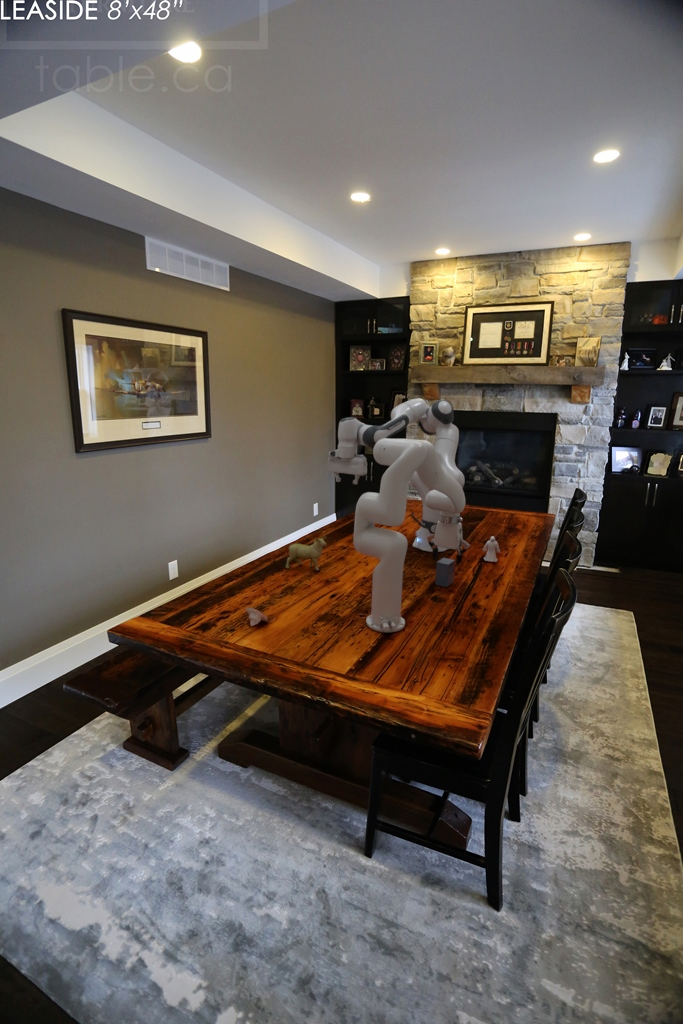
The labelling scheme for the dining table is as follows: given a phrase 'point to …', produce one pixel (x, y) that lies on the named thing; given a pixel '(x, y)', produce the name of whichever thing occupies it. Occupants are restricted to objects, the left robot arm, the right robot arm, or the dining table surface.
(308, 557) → the toy
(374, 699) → the dining table surface
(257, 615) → the seashell
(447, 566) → the brick
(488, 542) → the figurine
